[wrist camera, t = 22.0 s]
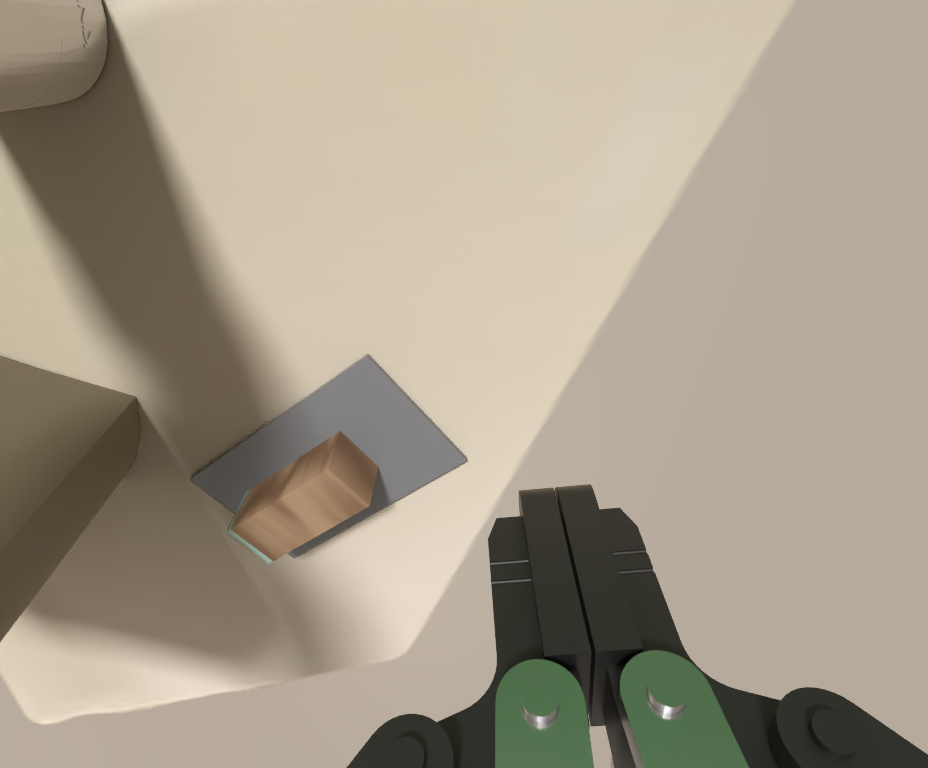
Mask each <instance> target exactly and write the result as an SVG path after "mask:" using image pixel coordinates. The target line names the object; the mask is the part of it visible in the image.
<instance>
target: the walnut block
mask: <svg viewBox="0 0 928 768" xmlns="http://www.w3.org/2000/svg"><path fill="white" fill-rule="evenodd" d="M377 470H378V466H377V465H376V464H375V463H374V462H373V461H372V460H371V459H370V458H369V457H368V456H367V455H366V454H365V453H364V452H362V451H361V450H360V449H359V448H358V447H357V446H356V445H355V444H354V443H353V442H352V441H351V440H350V439H349V438H347V437H346V436H345V435H344V434H343V433H342V432H341V431H339V432H338V433H336V434H335V435H333V436H332V437H330V438H328V439H327V440H325V441H324V442H322V443H321V444H319V445H318V446H316V447H315V448H313V449H311V450H310V451H308V452H307V453H305V454H304V455H302V456H301V457H299V458H298V459H296V460H294V461H293V462H291V463H290V464H288V465H287V466H285V467H284V468H282V469H281V470H279V471H277V472H276V473H274V474H273V475H271V476H270V477H268V478H267V479H265V480H264V481H262V482H260V483H259V484H257V485H256V486H254V487H253V488H251V489H250V490H248V491H247V492H246V493H245V495H244V497H243V499H242V501H241V503H240V505H239V507H238V509H237V511H236V513H235V515H234V517H233V519H232V521H231V523H230V525H229V527H228V529H227V531H226V533H228V534H229V535H230V536H232V537H233V538H234V539H236V540H237V541H239V542H240V543H241V544H243V545H244V546H245V547H247V548H248V549H250V550H251V551H252V552H254V553H255V554H256V555H258V556H259V557H261V558H262V559H263V560H265V561H266V562H267V563H271V562H273V561H274V560H276V559H278V558H280V557H281V556H283V555H285V554H287V553H288V552H290V551H292V550H294V549H295V548H297V547H299V546H301V545H302V544H304V543H306V542H308V541H309V540H311V539H313V538H315V537H316V536H318V535H320V534H322V533H323V532H325V531H327V530H329V529H330V528H332V527H334V526H336V525H337V524H339V523H341V522H343V521H344V520H346V519H348V518H350V517H351V516H353V515H355V514H357V513H358V512H360V511H362V510H364V509H365V508H367V507H369V506H370V502H371V498H372V493H373V489H374V484H375V480H376V475H377Z"/></svg>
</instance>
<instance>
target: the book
mask: <svg viewBox="0 0 928 768" xmlns="http://www.w3.org/2000/svg"><path fill="white" fill-rule="evenodd" d="M140 434H141V425H140V419H139V413H138V407H137V401H136V397H134V396H131V395H127V394H124V393H121V392H117V391H114V390H110V389H107V388H103V387H100V386H96V385H93V384H90V383H86V382H83V381H79V380H76V379H72V378H69V377H66V376H62V375H59V374H55V373H52V372H48V371H45V370H42V369H38V368H35V367H32V366H29V365H25V364H22V363H19V362H16V361H13V360H10V359H7V358H4V357H1V356H0V642H1V641H2V639H3V638H4V637H5V635H6V634H7V632H8V631H9V630H10V628H11V627H12V626H13V624H14V623H15V622H16V620H17V619H18V618H19V616H20V615H21V614H22V612H23V611H24V610H25V608H26V607H27V606H28V604H29V603H30V602H31V600H32V599H33V598H34V596H35V595H36V594H37V592H38V591H39V590H40V588H41V587H42V586H43V584H44V583H45V582H46V580H47V579H48V578H49V576H50V575H51V574H52V572H53V571H54V570H55V568H56V567H57V566H58V564H59V563H60V561H61V560H62V559H63V557H64V556H65V555H66V553H67V552H68V551H69V549H70V548H71V547H72V545H73V544H74V543H75V541H76V540H77V539H78V537H79V536H80V535H81V533H82V532H83V531H84V529H85V528H86V527H87V525H88V524H89V523H90V521H91V520H92V519H93V517H94V516H95V515H96V513H97V512H98V511H99V509H100V508H101V507H102V505H103V504H104V503H105V501H106V500H107V499H108V497H109V496H110V495H111V493H112V492H113V490H114V489H115V488H116V486H117V485H118V484H119V482H120V481H121V480H122V478H123V477H124V475H125V474H126V472H127V471H128V469H129V467H130V466H131V464H132V463H133V461H134V460H135V458H136V456H137V450H138V445H139V440H140Z"/></svg>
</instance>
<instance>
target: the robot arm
mask: <svg viewBox="0 0 928 768" xmlns="http://www.w3.org/2000/svg"><path fill="white" fill-rule="evenodd" d="M107 45H108V36H107V23H106V18H105V14H104V10H103V6H102V2H101V0H0V112H4V111H13V110H20V109H26V108H33V107H39V106H46V105H52V104H59V103H64V102H67V101H70V100H73V99H76V98H78V97H80V96H81V95H82V94H84V93H85V92H87V91H88V90H89V89H90V88H91V87H92V86H93V84H94V83H95V82H96V80H97V79H98V78H99V76H100V74H101V71H102V69H103V66H104V63H105V61H106V53H107ZM519 509H520V516H519V517H507V518H497V519H496V521H495V524H494V526H493V528H492V531H491V533H490V536H489V538H488V543H489V544H488V545H489V558H490V570H491V584H492V597H493V611H494V623H495V637H496V650H497V667H496V673H495V676H494V679H493V681H492V683H491V685H490V687H489V689H488V690H487V691H486V693H485V694H484V695H483V696H482V697H481V698H480V699H479V700H478V701H477V702H476V703H474V704H473V705H472V706H470V707H468V708H467V709H465V710H463V711H461V712H458V713H456V714H454V715H452V716H450V717H448V718H445V719H443V720H441V721H439V722H435V721H434V720H432V719H431V718H428V717H426V716H423V715H418V714H406V715H401V716H398V717H395V718H393V719H391V720H389V721H387V722H386V723H384V724H383V725H382V726H381V727H380V728H378V729H377V731H376V732H375V733H374V734H373V735H372V736H371V737H370V739H369V740H368V742H367V743H366V744H365V745H364V746H363V748H362V749H361V750H360V751H359V753H358V754H357V755H356V757H355V758H354V759H353V761H352V762H351V763H350V764H349V766H348V767H347V768H594V764H593V757H592V749H591V742H590V734H589V719H590V725H591V726H603V725H605V726H606V730H607V735H608V739H609V744H610V748H611V752H612V757H611V768H928V755H927V754H926V753H924V752H923V751H922V750H920V749H919V748H917V747H916V746H914V745H913V744H911V743H910V742H909V741H907V740H906V739H904V738H903V737H901V736H900V735H898V734H897V733H896V732H894V731H893V730H891V729H890V728H888V727H887V726H885V725H884V724H882V723H881V722H880V721H878V720H877V719H875V718H874V717H872V716H871V715H869V714H868V713H867V712H865V711H864V710H862V709H861V708H859V707H858V706H856V705H855V704H854V703H852V702H850V701H849V700H847V699H845V698H844V697H842V696H840V695H838V694H836V693H833V692H830V691H827V690H824V689H819V688H807V687H806V688H799V689H796V690H793V691H791V692H790V693H788V694H786V695H785V696H784V698H783V699H782V700H777V699H772V698H769V697H765V696H761V695H757V694H753V693H748V692H745V691H741V690H737V689H734V688H731V687H728V686H726V685H724V684H721V683H719V682H717V681H716V680H714V679H712V678H711V677H709V676H708V675H707V674H705V673H704V672H703V671H702V670H701V669H700V668H698V667H697V666H696V665H695V663H694V662H693V661H692V660H691V659H690V657H689V656H688V654H687V653H686V651H685V649H684V647H683V645H682V643H681V640H680V638H679V635H678V632H677V630H676V627H675V625H674V622H673V619H672V617H671V614H670V611H669V609H668V606H667V603H666V601H665V598H664V595H663V593H662V590H661V588H660V585H659V582H658V580H657V577H656V574H655V573H654V572H653V567H652V564H651V561H650V558H649V556H648V554H647V553H646V548H645V545H644V543H643V540H642V537H641V535H640V532H639V529H638V527H637V526H636V524H634V522H633V521H632V520H631V519H630V518H629V517H628V516H627V515H626V514H625V513H624V512H623V511H622V510H621V509H620V508H612V509H601V510H599V507H598V503H597V500H596V497H595V494H594V491H593V488H592V486H591V485H590V484H589V485H578V486H566V487H556V488H555V491H554V489H553V488H544V489H533V490H521V491H519ZM588 715H589V719H588Z"/></svg>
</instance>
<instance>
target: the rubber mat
mask: <svg viewBox="0 0 928 768" xmlns="http://www.w3.org/2000/svg"><path fill="white" fill-rule="evenodd" d="M339 431H341V432H342V433H343V434H344V435H345V436H346V437H347V438H349V439H350V440H351V441H352V442H353V443H354V444H355V445H356V446H357V447H358V448H359V449H360V450H361V451H362V452H364V453H365V454H366V455H367V456H368V457H369V458H370V459H371V460H372V461H373V462H374V463H375V464H376V465H377V466H378V470H377V475H376V480H375V484H374V489H373V493H372V498H371V502H370V506H369V507H367V508H365V509H364V510H362V511H360V512H358V513H357V514H355V515H353V516H351V517H350V518H348V519H346V520H344V521H343V522H341V523H339V524H337V525H336V526H334V527H332V528H330V529H329V530H327V531H325V532H323V533H322V534H320V535H318V536H316V537H315V538H313V539H311V540H309V541H308V542H306V543H304V544H302V545H301V546H299V547H297V548H295V549H294V550H292V551H290V552H288V554H289V555H290V556H292V557H293V558H296V557H298V556H299V555H301V554H303V553H305V552H306V551H308V550H310V549H312V548H314V547H315V546H317V545H319V544H321V543H322V542H324V541H326V540H328V539H329V538H331V537H333V536H335V535H337V534H338V533H340V532H342V531H344V530H345V529H347V528H349V527H351V526H352V525H354V524H356V523H358V522H360V521H361V520H363V519H365V518H367V517H368V516H370V515H372V514H374V513H376V512H377V511H379V510H381V509H383V508H384V507H386V506H388V505H390V504H391V503H393V502H395V501H397V500H399V499H400V498H402V497H404V496H406V495H407V494H409V493H411V492H413V491H415V490H416V489H418V488H420V487H422V486H423V485H425V484H427V483H429V482H430V481H432V480H434V479H436V478H438V477H439V476H441V475H443V474H445V473H446V472H448V471H450V470H452V469H453V468H455V467H457V466H459V465H461V464H462V463H464V462H466V461H467V457H466V456H465V455H464V454H463V453H462V452H461V451H460V450H459V449H458V448H457V447H456V446H455V445H454V444H453V443H452V442H451V441H450V439H449V438H448V437H447V436H446V435H445V434H444V433H443V432H442V431H441V430H440V429H439V428H438V427H437V426H436V425H435V424H434V423H433V422H432V421H431V420H430V418H429V417H428V416H427V415H426V414H425V413H424V412H423V411H422V410H421V409H420V408H419V407H418V406H417V405H416V404H415V403H414V402H413V401H412V400H411V399H410V397H409V396H408V395H407V394H406V393H405V392H404V391H403V390H402V389H401V388H400V387H399V386H398V385H397V384H396V383H395V382H394V381H393V380H392V379H391V377H390V376H389V375H388V374H387V373H386V372H385V371H384V370H383V369H382V368H381V367H380V366H379V365H378V364H377V363H376V362H375V361H374V360H373V359H372V358H371V356H370V355H369V354H368V355H366V356H365V357H363V358H362V359H360V360H359V361H358V362H356V363H355V364H353V365H352V366H350V367H349V368H347V369H346V370H345V371H343V372H342V373H340V374H339V375H337V376H336V377H335V378H333V379H332V380H330V381H329V382H327V383H326V384H324V385H323V386H322V387H320V388H319V389H317V390H316V391H314V392H313V393H312V394H310V395H309V396H307V397H306V398H304V399H303V400H301V401H300V402H299V403H297V404H296V405H294V406H293V407H291V408H290V409H289V410H287V411H286V412H284V413H283V414H281V415H280V416H278V417H277V418H276V419H274V420H273V421H271V422H270V423H268V424H267V425H266V426H264V427H263V428H261V429H260V430H258V431H257V432H255V433H254V434H253V435H251V436H250V437H248V438H247V439H245V440H244V441H243V442H241V443H240V444H238V445H237V446H235V447H234V448H232V449H231V450H230V451H228V452H227V453H225V454H224V455H222V456H221V457H220V458H218V459H217V460H215V461H214V462H212V463H211V464H209V465H208V466H207V467H205V468H204V469H202V470H201V471H199V472H198V473H197V474H195V475H194V476H192V477H191V479H190V480H191V481H192V482H193V483H195V484H196V485H197V486H199V487H200V488H201V489H203V490H204V491H205V492H207V493H208V494H209V495H211V496H212V497H213V498H215V499H216V500H217V501H219V502H220V503H221V504H223V505H224V506H225V507H226V508H228V509H229V510H230V511H232V512H233V513H234V514H235V513H236V511H237V509H238V507H239V505H240V503H241V501H242V499H243V497H244V495H245V493H246V492H247V491H248V490H250V489H251V488H253V487H254V486H256V485H257V484H259V483H260V482H262V481H264V480H265V479H267V478H268V477H270V476H271V475H273V474H274V473H276V472H277V471H279V470H281V469H282V468H284V467H285V466H287V465H288V464H290V463H291V462H293V461H294V460H296V459H298V458H299V457H301V456H302V455H304V454H305V453H307V452H308V451H310V450H311V449H313V448H315V447H316V446H318V445H319V444H321V443H322V442H324V441H325V440H327V439H328V438H330V437H332V436H333V435H335V434H336V433H338V432H339Z"/></svg>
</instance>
